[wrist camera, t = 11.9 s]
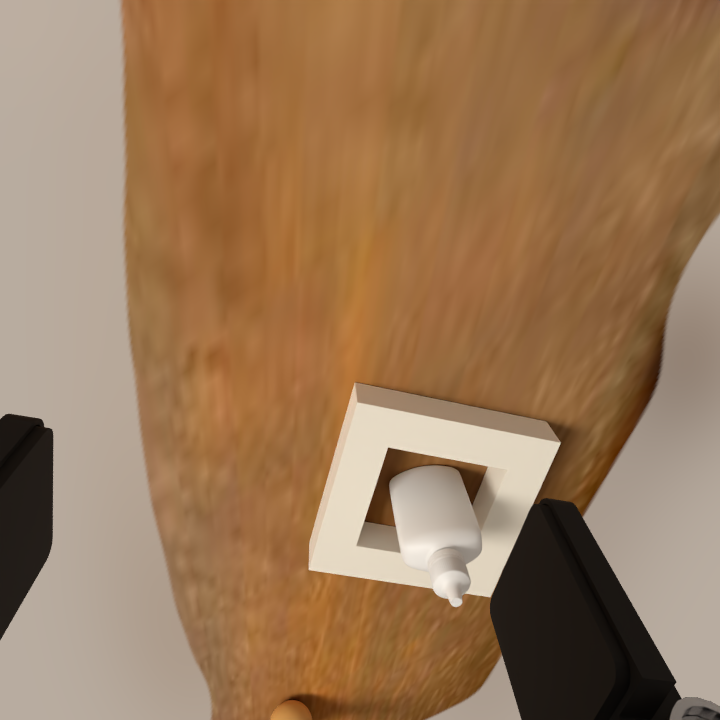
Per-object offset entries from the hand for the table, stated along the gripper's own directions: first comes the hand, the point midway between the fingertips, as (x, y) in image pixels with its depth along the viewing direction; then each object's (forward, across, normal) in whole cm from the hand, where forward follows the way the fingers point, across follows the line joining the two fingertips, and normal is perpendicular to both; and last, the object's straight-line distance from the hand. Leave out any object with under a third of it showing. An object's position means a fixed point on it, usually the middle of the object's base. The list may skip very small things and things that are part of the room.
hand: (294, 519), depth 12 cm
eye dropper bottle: (+29, -12, +19) cm, 36 cm away
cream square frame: (+28, -12, +19) cm, 36 cm away
